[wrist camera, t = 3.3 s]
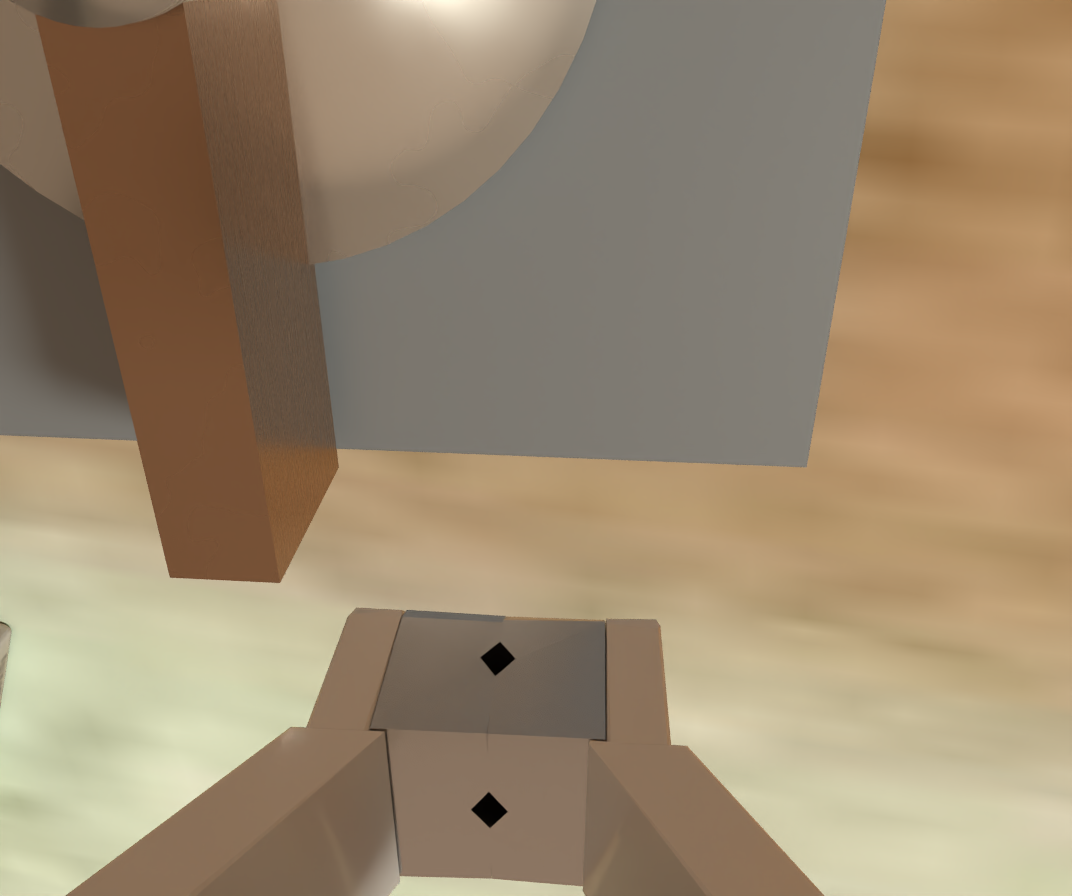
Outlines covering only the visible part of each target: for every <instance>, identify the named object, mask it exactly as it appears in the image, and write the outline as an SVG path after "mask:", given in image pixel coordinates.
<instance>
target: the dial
mask: <svg viewBox="0 0 1072 896" xmlns="http://www.w3.org/2000/svg"><path fill="white" fill-rule="evenodd" d="M595 3H596V0H0V164H1V165H2V166H4V167H5V168H6V169H8V170H9V171H10V172H12V173H13V174H14V175H15V176H17V177H18V178H19V179H21V180H22V181H23V182H25V183H26V184H27V185H29V186H30V187H31V188H33V189H34V190H35V191H37V192H38V193H40V194H42V195H43V196H45V197H47V198H48V199H50V200H51V201H53V202H55V203H56V204H58V205H60V206H61V207H63V208H65V209H66V210H68V211H69V212H71V213H73V214H74V215H76V216H78V217H79V218H81V219H83V220H84V221H85V225H86V229H87V233H88V238H89V242H90V246H91V250H92V254H93V258H94V263H95V267H96V271H97V275H98V279H99V284H100V288H101V292H102V296H103V300H104V304H105V309H106V313H107V317H108V321H109V325H110V329H111V334H112V338H113V342H114V346H115V350H116V354H117V359H118V363H119V367H120V371H121V375H122V379H123V384H124V388H125V392H126V396H127V400H128V404H129V409H130V413H131V417H132V421H133V425H134V429H135V434H136V438H137V442H138V446H139V450H140V455H141V459H142V463H143V467H144V471H145V475H146V480H147V484H148V488H149V492H150V496H151V500H152V505H153V509H154V513H155V517H156V521H157V525H158V530H159V534H160V538H161V542H162V546H163V550H164V555H165V559H166V563H167V567H168V571H169V575H170V577H171V578H191V579H211V580H231V581H251V582H272V583H280V582H281V580H282V578H283V576H284V574H285V572H286V570H287V568H288V566H289V564H290V562H291V560H292V558H293V556H294V554H295V552H296V550H297V548H298V546H299V545H300V543H301V541H302V539H303V537H304V535H305V533H306V531H307V529H308V527H309V525H310V523H311V521H312V519H313V517H314V515H315V513H316V511H317V509H318V507H319V505H320V503H321V501H322V499H323V497H324V495H325V493H326V491H327V489H328V487H329V485H330V483H331V481H332V480H333V478H334V476H335V474H336V472H337V470H338V468H339V466H338V458H337V449H336V441H335V432H334V424H333V416H332V407H331V399H330V390H329V382H328V374H327V365H326V357H325V348H324V340H323V332H322V323H321V315H320V306H319V298H318V290H317V281H316V273H315V264H316V263H322V262H328V261H334V260H340V259H345V258H348V257H351V256H354V255H358V254H361V253H364V252H367V251H370V250H373V249H376V248H380V247H383V246H386V245H388V244H390V243H392V242H394V241H396V240H398V239H401V238H403V237H405V236H407V235H409V234H411V233H413V232H415V231H417V230H419V229H421V228H423V227H425V226H427V225H429V224H430V223H432V222H433V221H435V220H436V219H438V218H439V217H441V216H442V215H444V214H445V213H447V212H448V211H450V210H451V209H453V208H454V207H456V206H457V205H459V204H460V203H462V202H463V201H464V200H466V199H467V198H468V197H469V196H470V195H471V194H472V193H473V192H475V191H476V190H477V189H478V188H479V187H480V186H481V185H482V184H484V183H485V182H486V181H487V180H488V179H489V178H490V177H491V176H493V175H494V174H495V173H496V172H497V171H498V170H499V169H500V168H501V167H502V166H503V165H504V163H505V162H506V161H507V160H508V159H509V158H510V156H511V155H512V154H513V153H514V152H515V151H516V149H517V148H518V147H519V146H520V145H521V143H522V142H523V141H524V140H525V139H526V138H527V136H528V135H529V134H530V133H531V132H532V130H533V129H534V127H535V126H536V124H537V122H538V121H539V119H540V118H541V116H542V115H543V113H544V112H545V110H546V109H547V107H548V106H549V104H550V102H551V101H552V99H553V98H554V96H555V95H556V93H557V92H558V90H559V89H560V86H561V84H562V82H563V80H564V78H565V76H566V74H567V72H568V70H569V68H570V66H571V64H572V62H573V59H574V57H575V55H576V53H577V51H578V49H579V47H580V45H581V43H582V41H583V38H584V36H585V33H586V30H587V27H588V24H589V21H590V18H591V15H592V12H593V9H594V6H595Z"/></svg>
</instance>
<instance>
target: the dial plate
mask: <svg viewBox="0 0 1072 896" xmlns="http://www.w3.org/2000/svg"><path fill="white" fill-rule="evenodd" d="M885 4H886V0H596V3H595V6H594V9H593V12H592V15H591V18H590V21H589V24H588V27H587V30H586V33H585V36H584V38H583V41H582V43H581V45H580V47H579V49H578V51H577V53H576V55H575V57H574V59H573V62H572V64H571V66H570V68H569V70H568V72H567V74H566V76H565V78H564V80H563V82H562V84H561V86H560V89H559V90H558V92H557V93H556V95H555V96H554V98H553V99H552V101H551V102H550V104H549V106H548V107H547V109H546V110H545V112H544V113H543V115H542V116H541V118H540V119H539V121H538V122H537V124H536V126H535V127H534V129H533V130H532V132H531V133H530V134H529V135H528V136H527V138H526V139H525V140H524V141H523V142H522V143H521V145H520V146H519V147H518V148H517V149H516V151H515V152H514V153H513V154H512V155H511V156H510V158H509V159H508V160H507V161H506V162H505V163H504V165H503V166H502V167H501V168H500V169H499V170H498V171H497V172H496V173H495V174H494V175H493V176H491V177H490V178H489V179H488V180H487V181H486V182H485V183H484V184H482V185H481V186H480V187H479V188H478V189H477V190H476V191H475V192H473V193H472V194H471V195H470V196H469V197H468V198H467V199H466V200H464V201H463V202H462V203H460V204H459V205H457V206H456V207H454V208H453V209H451V210H450V211H448V212H447V213H445V214H444V215H442V216H441V217H439V218H438V219H436V220H435V221H433V222H432V223H430V224H429V225H427V226H425V227H423V228H421V229H419V230H417V231H415V232H413V233H411V234H409V235H407V236H405V237H403V238H401V239H398V240H396V241H394V242H392V243H390V244H388V245H386V246H383V247H380V248H376V249H373V250H370V251H367V252H364V253H361V254H358V255H354V256H351V257H348V258H345V259H340V260H334V261H328V262H322V263H316V264H315V273H316V281H317V290H318V298H319V306H320V315H321V323H322V332H323V340H324V348H325V357H326V365H327V374H328V382H329V390H330V399H331V407H332V416H333V424H334V432H335V441H336V448H337V449H362V450H387V451H412V452H437V453H462V454H487V455H512V456H537V457H562V458H587V459H612V460H637V461H662V462H687V463H712V464H737V465H762V466H787V467H807V462H808V456H809V450H810V444H811V438H812V432H813V427H814V421H815V415H816V409H817V403H818V397H819V391H820V385H821V380H822V374H823V368H824V362H825V356H826V350H827V344H828V339H829V333H830V327H831V321H832V315H833V309H834V303H835V298H836V292H837V286H838V280H839V274H840V268H841V262H842V256H843V251H844V245H845V239H846V233H847V227H848V221H849V215H850V210H851V204H852V198H853V192H854V186H855V180H856V174H857V169H858V163H859V157H860V151H861V145H862V139H863V133H864V127H865V122H866V116H867V110H868V104H869V98H870V92H871V86H872V81H873V75H874V69H875V63H876V57H877V51H878V45H879V40H880V34H881V28H882V22H883V16H884V10H885ZM0 435H11V436H36V437H61V438H86V439H111V440H136V441H137V438H136V434H135V429H134V425H133V421H132V417H131V413H130V409H129V404H128V400H127V396H126V392H125V388H124V384H123V379H122V375H121V371H120V367H119V363H118V359H117V354H116V350H115V346H114V342H113V338H112V334H111V329H110V325H109V321H108V317H107V313H106V309H105V304H104V300H103V296H102V292H101V288H100V284H99V279H98V275H97V271H96V267H95V263H94V258H93V254H92V250H91V246H90V242H89V238H88V233H87V229H86V225H85V221H84V220H83V219H81V218H79V217H78V216H76V215H74V214H73V213H71V212H69V211H68V210H66V209H65V208H63V207H61V206H60V205H58V204H56V203H55V202H53V201H51V200H50V199H48V198H47V197H45V196H43V195H42V194H40V193H38V192H37V191H35V190H34V189H33V188H31V187H30V186H29V185H27V184H26V183H25V182H23V181H22V180H21V179H19V178H18V177H17V176H15V175H14V174H13V173H12V172H10V171H9V170H8V169H6V168H5V167H4V166H2V165H1V164H0Z"/></svg>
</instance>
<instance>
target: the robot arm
mask: <svg viewBox="0 0 1072 896" xmlns="http://www.w3.org/2000/svg"><path fill="white" fill-rule="evenodd" d="M400 876H418V877H455V878H492V879H503V880H515V881H527V882H539V883H551V884H563V885H575V886H583V892H584V894H585V895H586V896H824V895H823V894H822V893H821V892H820V890H819V889H818V888H817V887H816V886H815V885H814V884H813V883H812V882H811V881H810V880H809V878H808V877H807V876H806V875H805V874H804V873H803V872H802V871H801V870H800V869H799V868H798V866H797V865H796V864H795V863H794V862H793V861H792V860H791V859H790V858H789V857H788V856H787V854H786V853H785V852H784V851H783V850H782V849H781V848H780V847H779V846H778V845H777V844H776V842H775V841H774V840H773V839H772V838H771V837H770V836H769V835H768V834H767V833H766V832H765V830H764V829H763V828H762V827H761V826H760V825H759V824H758V823H757V822H756V821H755V820H754V818H753V817H752V816H751V815H750V814H749V813H748V812H747V811H746V810H745V809H744V808H743V806H742V805H741V804H740V803H739V802H738V801H737V800H736V799H735V798H734V797H733V796H732V794H731V793H730V792H729V791H728V790H727V789H726V788H725V787H724V786H723V785H722V784H721V782H720V781H719V780H718V779H717V778H716V777H715V776H714V775H713V774H712V773H711V772H710V770H709V769H708V768H707V767H706V766H705V765H704V764H703V763H702V762H701V761H700V760H699V758H698V757H697V756H696V755H695V754H694V753H693V752H692V751H691V750H690V749H689V748H688V746H679V745H671V740H670V729H669V717H668V706H667V695H666V684H665V673H664V662H663V651H662V640H661V629H660V625H659V623H658V622H657V620H648V619H606V623H605V621H604V620H587V619H559V618H531V617H506V616H494V615H479V614H463V613H447V612H431V611H416V610H407V611H406V612H405V611H402V610H388V609H371V608H356V609H355V610H354V611H353V612H352V613H351V614H350V615H349V616H348V618H347V620H346V623H345V626H344V628H343V631H342V634H341V636H340V639H339V642H338V644H337V647H336V650H335V652H334V655H333V658H332V660H331V663H330V666H329V668H328V671H327V674H326V676H325V679H324V682H323V684H322V687H321V690H320V692H319V695H318V698H317V700H316V703H315V706H314V708H313V711H312V714H311V716H310V719H309V722H308V724H307V727H306V728H304V727H290V728H289V729H288V730H286V731H285V732H284V733H282V734H281V735H279V736H278V737H277V738H275V739H274V740H273V741H271V742H270V743H269V744H267V745H266V746H265V747H263V748H262V749H261V750H259V751H258V752H257V753H255V754H254V755H253V756H251V757H250V758H249V759H247V760H246V761H245V762H243V763H242V764H241V765H239V766H238V767H237V768H235V769H234V770H233V771H231V772H230V773H229V774H227V775H226V776H225V777H223V778H222V779H221V780H219V781H218V782H217V783H215V784H214V785H213V786H211V787H210V788H209V789H207V790H206V791H205V792H203V793H202V794H201V795H199V796H198V797H197V798H195V799H194V800H193V801H191V802H190V803H189V804H187V805H186V806H185V807H183V808H182V809H181V810H179V811H178V812H177V813H175V814H174V815H173V816H171V817H170V818H169V819H167V820H166V821H165V822H163V823H162V824H161V825H159V826H158V827H157V828H155V829H154V830H153V831H151V832H150V833H149V834H147V835H146V836H145V837H143V838H142V839H141V840H139V841H138V842H137V843H135V844H134V845H133V846H131V847H130V848H129V849H127V850H126V851H125V852H123V853H122V854H121V855H119V856H118V857H117V858H115V859H114V860H113V861H111V862H110V863H109V864H107V865H106V866H105V867H103V868H102V869H101V870H99V871H98V872H97V873H95V874H94V875H93V876H91V877H90V878H89V879H87V880H86V881H85V882H83V883H82V884H81V885H79V886H78V887H77V888H75V889H74V890H73V891H71V892H70V893H68V894H67V895H66V896H389V895H390V893H391V892H392V891H393V890H394V889H395V887H396V886H397V885H398V884H399V882H400Z"/></svg>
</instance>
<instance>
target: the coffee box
mask: <svg viewBox="0 0 1072 896" xmlns="http://www.w3.org/2000/svg"><path fill="white" fill-rule="evenodd" d="M10 638H11V628H10V627H8V626H7V625H4V624H1V623H0V706H1V699H2V692H3V686H4V679H5V672H6V666H7V659H8V652H9V645H10Z"/></svg>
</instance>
